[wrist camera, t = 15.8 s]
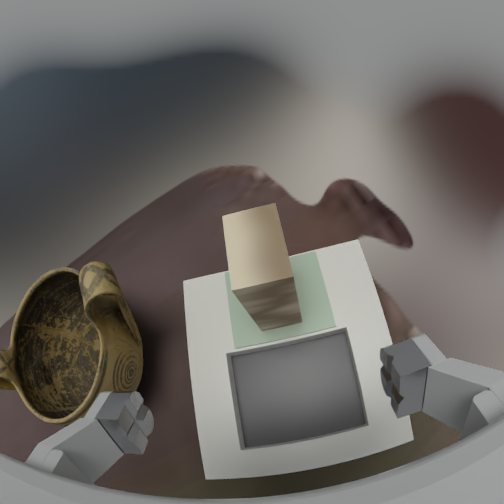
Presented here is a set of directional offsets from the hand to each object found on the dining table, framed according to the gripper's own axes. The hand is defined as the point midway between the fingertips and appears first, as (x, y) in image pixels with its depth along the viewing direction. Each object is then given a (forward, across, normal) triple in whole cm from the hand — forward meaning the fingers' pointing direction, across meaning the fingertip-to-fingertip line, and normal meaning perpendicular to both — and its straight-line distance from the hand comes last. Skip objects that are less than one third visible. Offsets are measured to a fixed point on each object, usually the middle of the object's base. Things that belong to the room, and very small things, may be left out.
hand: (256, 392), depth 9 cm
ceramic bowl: (+20, +22, +10) cm, 31 cm away
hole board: (+17, 0, +12) cm, 21 cm away
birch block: (+20, 0, +6) cm, 21 cm away
